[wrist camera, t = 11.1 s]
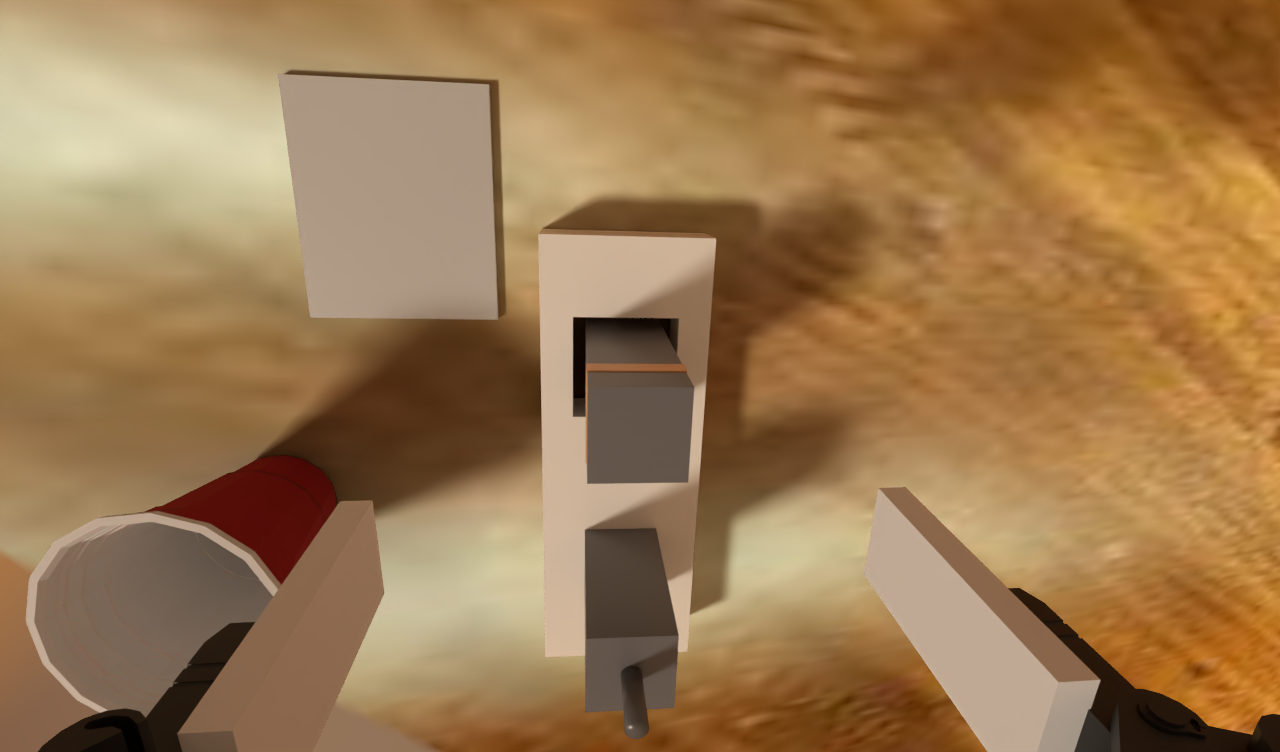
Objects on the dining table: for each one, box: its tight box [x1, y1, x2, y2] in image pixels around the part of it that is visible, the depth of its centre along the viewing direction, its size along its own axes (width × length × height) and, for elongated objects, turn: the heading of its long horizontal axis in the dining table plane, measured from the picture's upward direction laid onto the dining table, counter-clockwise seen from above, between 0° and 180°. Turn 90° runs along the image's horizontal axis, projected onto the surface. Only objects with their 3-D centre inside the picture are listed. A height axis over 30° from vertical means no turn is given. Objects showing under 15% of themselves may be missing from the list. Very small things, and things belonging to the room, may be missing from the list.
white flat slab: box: [278, 74, 499, 320], centre depth 32 cm, size 12×10×1 cm
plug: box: [585, 318, 694, 484], centre depth 31 cm, size 4×4×12 cm
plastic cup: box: [26, 455, 337, 717], centre depth 32 cm, size 11×11×12 cm
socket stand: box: [539, 229, 716, 739], centre depth 31 cm, size 26×9×15 cm, turn 178°
